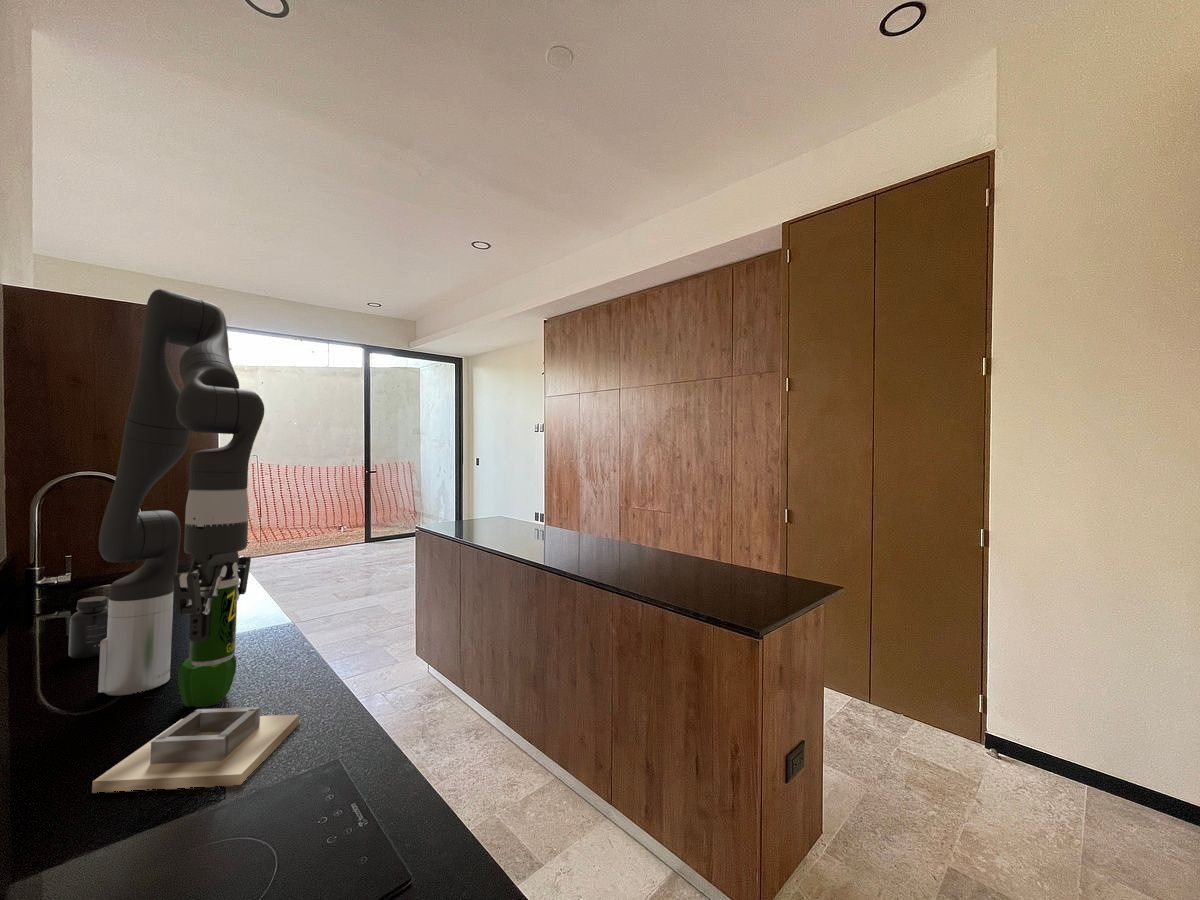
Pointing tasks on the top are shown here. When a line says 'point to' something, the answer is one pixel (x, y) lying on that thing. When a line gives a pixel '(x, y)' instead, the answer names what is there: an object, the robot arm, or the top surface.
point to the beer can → (218, 627)
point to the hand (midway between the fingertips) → (213, 633)
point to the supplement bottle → (88, 627)
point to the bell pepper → (205, 682)
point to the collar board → (201, 751)
